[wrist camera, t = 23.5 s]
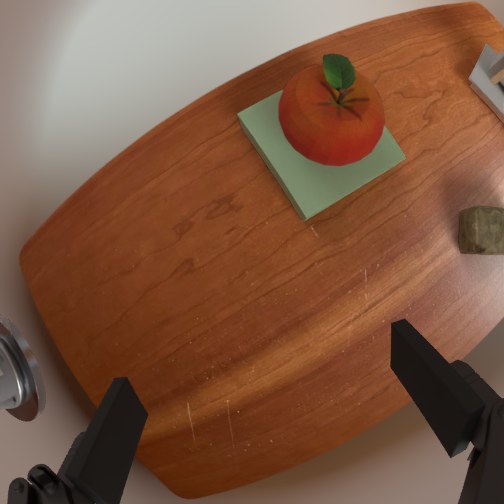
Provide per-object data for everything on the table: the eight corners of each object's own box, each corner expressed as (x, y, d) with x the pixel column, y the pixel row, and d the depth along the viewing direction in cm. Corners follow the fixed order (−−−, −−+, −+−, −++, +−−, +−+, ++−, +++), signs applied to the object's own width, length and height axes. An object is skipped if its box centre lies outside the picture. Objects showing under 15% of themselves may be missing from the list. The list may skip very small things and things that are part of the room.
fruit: (286, 182, 28) (291, 148, 18) (271, 97, 28) (268, 38, 18) (378, 173, 27) (422, 140, 17) (357, 91, 27) (384, 37, 17)
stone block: (453, 208, 30) (476, 203, 25) (508, 213, 29) (530, 210, 24) (455, 255, 30) (478, 256, 25) (509, 254, 29) (532, 254, 24)
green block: (302, 222, 32) (306, 218, 28) (241, 128, 32) (236, 113, 28) (393, 167, 31) (406, 157, 27) (331, 82, 31) (336, 64, 27)
